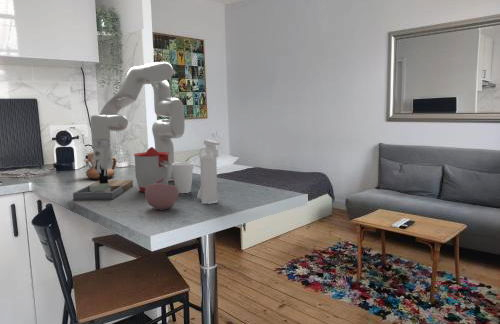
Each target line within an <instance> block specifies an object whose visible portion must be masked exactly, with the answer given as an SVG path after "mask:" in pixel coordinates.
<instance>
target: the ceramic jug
mask: <svg viewBox="0 0 500 324" xmlns="http://www.w3.org/2000/svg"><path fill="white" fill-rule="evenodd" d="M111 154H113V152H112V151H111ZM86 156H87V158H85V159H83V162H85V163H86V162H89V164H90V165H91V167H90V168H88V169H87V170H86V171H85V175H86V177H87V178H89V179H90V180H91V179H92V180H99V174H98V173H97V170H95V169H94V161H93V151H90V152H87V155H86ZM112 163H113V166H112V167H111V168H109V170H108V175H107V176H108V179H109V178H112V177H113V176H114V175H115V169H116V165H117V159H116V157H114V156H112Z"/></svg>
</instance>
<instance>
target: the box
mask: <svg viewBox="0 0 500 324" xmlns="http://www.w3.org/2000/svg"><path fill="white" fill-rule="evenodd" d="M120 194H121V195H122V194H124V193H123V189H122V186H120V187H119V188H117V189H111V192H91V191H90V189H88V187H87V186H85V187H83V188H80V189H79V190H77V191H74V192H73V193H72V197H73V199H72V200H73V201H113V200H115V199H116V198H117V197H119V196H121V195H120Z"/></svg>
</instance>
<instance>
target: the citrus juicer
mask: <svg viewBox="0 0 500 324" xmlns="http://www.w3.org/2000/svg"><path fill="white" fill-rule="evenodd" d="M133 156H134V169H135V170H134V172H135V180H136V184H137V187H138V189H139V191H141V192H143V193H145V189H146V186H148V185H151V184H156V181H157V180H159V179H161V178H163V181H161V182H160V183H159V184H167V185H168V184H169V182H170V181H169V166H170V163H169V153H167V152H157V151H156V150H155V147H153V146H151V147H149V148H148V149H147V150H146V152H137V153H134V154H133Z"/></svg>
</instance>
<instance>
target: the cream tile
mask: <svg viewBox="0 0 500 324" xmlns="http://www.w3.org/2000/svg"><path fill="white" fill-rule="evenodd" d="M91 192H111V187H109V188H108V189H106V190H104V191H91Z"/></svg>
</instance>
